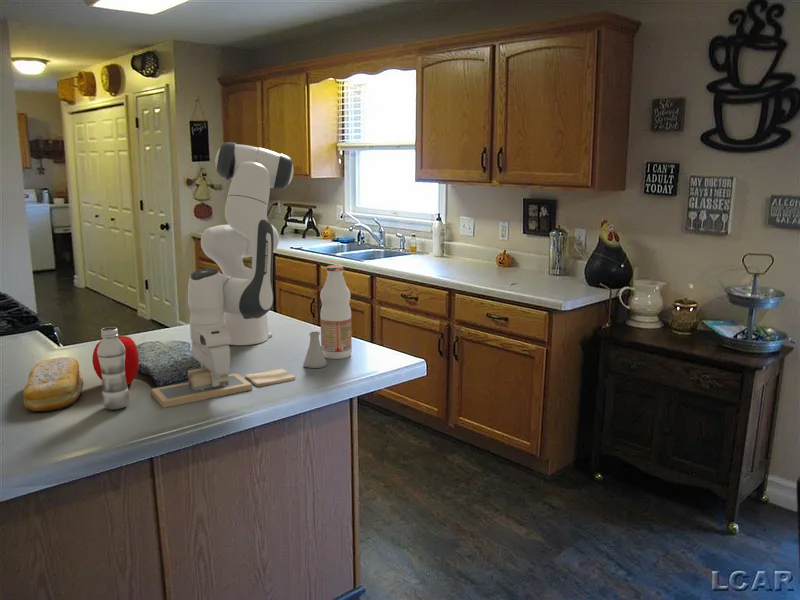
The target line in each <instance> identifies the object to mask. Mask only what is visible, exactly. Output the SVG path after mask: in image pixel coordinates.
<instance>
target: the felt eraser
mask: <svg viewBox="0 0 800 600" xmlns="http://www.w3.org/2000/svg"><path fill="white" fill-rule="evenodd" d="M228 375H229V373H228V374H226V375H220V379H219V386H221V385H227V384H228ZM187 378H188V380H187V381H188V382H189V386H190V387H191V388H192V389H193V390H194V391H195V390H201V389H206V388H211V387H213V386H212V385H211V379H212V374H211V371H209V370H208V369H207V368H201V367H200V368H195V369H188V370H187Z"/></svg>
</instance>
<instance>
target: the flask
mask: <svg viewBox="0 0 800 600" xmlns="http://www.w3.org/2000/svg"><path fill="white" fill-rule="evenodd" d="M308 335H309V337H310V338H309V339H310V340H309V345H308V349H307V351H306V355H305V357H304V361H303V365H302V366H303V368H304V367H305V368H309V369H319V368H320V369H321V368H324V367H326V366H328V362H327V358H325V357H324V354H323V351H322V349H321V341H320V336H321V331H314V330H313V331H309V333H308Z"/></svg>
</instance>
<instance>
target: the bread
mask: <svg viewBox="0 0 800 600" xmlns="http://www.w3.org/2000/svg"><path fill="white" fill-rule="evenodd" d="M27 379H28V380H27V382H26V384H25V386H24V388H23V392H22V393H23V394H22V395H23V396H22V397H23V399H22V400H23V405H24V407H25V409H27V410H29V411H31V412H34V413H37V412H38V413H42V412H43V413H44V412H53V411H58V410H62V409H66V408H68V407H69V406H71V405H73V404H74V403H75V402H76V401H77V400H78V399H79V397H80V396H81V393H82V390H83V388H84V376H83V373H82V372H81V371H80V364H79V361H78V360H77V359H76V358H75V357H71V356H65V357H63V356H62V357H61V356H60V357H54V358H49V359H45V360H42V361H40V362H38V363H37V364H36V365H34V366H33V368H32V369H31V370H30V372H29V374H28V378H27Z"/></svg>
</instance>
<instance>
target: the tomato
mask: <svg viewBox="0 0 800 600" xmlns="http://www.w3.org/2000/svg"><path fill="white" fill-rule="evenodd" d="M117 338H118V339H119V340H120V341H121V342H122V343H123V344H124V347H125V377H126V382H127V386H129V385H130V384H131V383H132V382H133V381H134V380H135V379H136V377H137V374H138V372H139V368H140V367H139V365H140V359H139V357H140V356H139V351H138V347H137V344H136V343H135V341H134V340H133V339H132V338H131V337H130V336H127V335H122V334H118V336H117ZM102 340H103V339H101V340H99V342H98V343H97V344H96V345H95V346H94V349H93V353H92V366H93V370H94V372H95V374H96V376H98V378H99V379H100V380H101V381H102V372H101V367H100V363H99V359H98V355H97V349H98V346H99V344H100V343H101V341H102Z"/></svg>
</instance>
